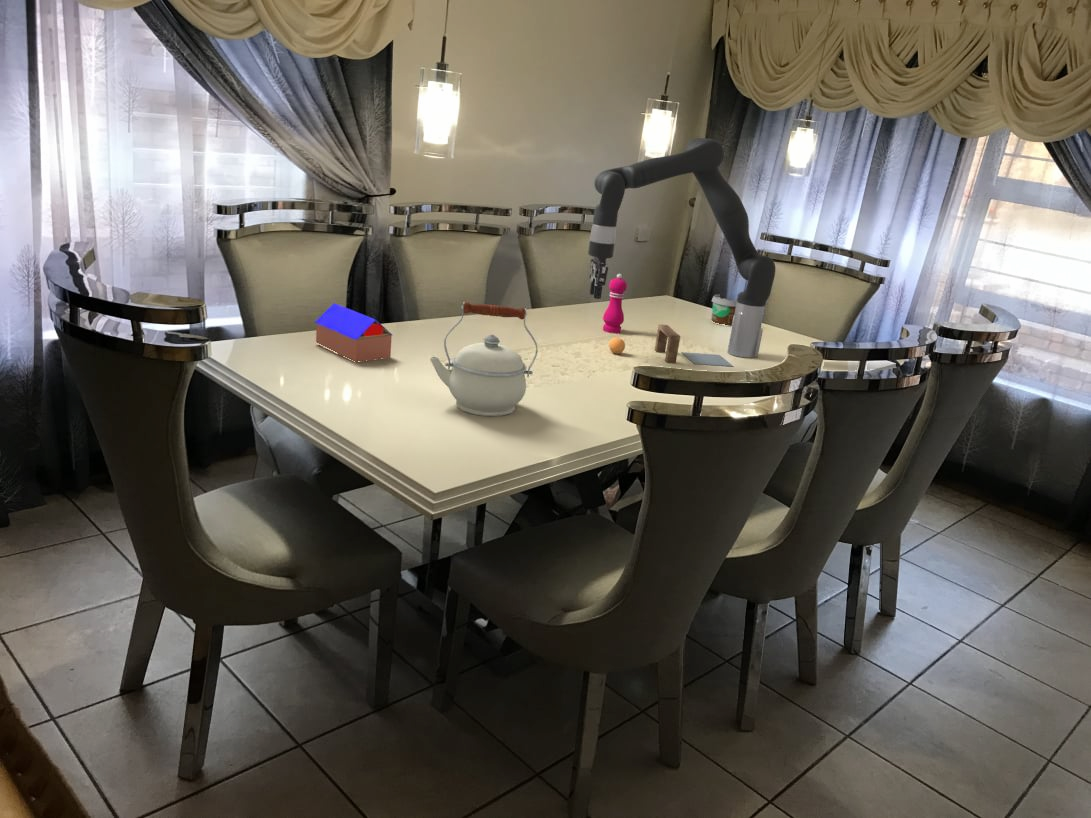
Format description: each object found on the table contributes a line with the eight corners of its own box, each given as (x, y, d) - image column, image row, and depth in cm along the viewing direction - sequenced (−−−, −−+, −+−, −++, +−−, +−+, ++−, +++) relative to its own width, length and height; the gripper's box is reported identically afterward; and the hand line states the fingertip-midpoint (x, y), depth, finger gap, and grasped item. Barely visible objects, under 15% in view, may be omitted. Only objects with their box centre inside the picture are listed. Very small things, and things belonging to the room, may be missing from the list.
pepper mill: (598, 330, 294) (605, 272, 287) (606, 327, 300) (614, 270, 293) (617, 334, 291) (625, 276, 284) (625, 331, 297) (633, 274, 290)
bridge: (663, 351, 276) (667, 325, 273) (675, 363, 263) (680, 336, 260) (654, 350, 275) (658, 324, 273) (666, 362, 262) (671, 335, 260)
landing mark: (719, 355, 279) (719, 354, 279) (733, 366, 267) (733, 366, 267) (681, 352, 277) (681, 352, 276) (693, 364, 264) (694, 363, 264)
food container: (701, 319, 332) (706, 293, 329) (714, 319, 334) (719, 294, 331) (720, 327, 321) (725, 301, 318) (733, 327, 324) (738, 301, 321)
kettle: (530, 399, 213) (540, 301, 205) (531, 424, 196) (543, 318, 188) (430, 389, 212) (437, 291, 204) (422, 413, 194) (429, 307, 187)
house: (355, 364, 226) (356, 321, 222) (314, 345, 239) (315, 304, 235) (392, 359, 234) (394, 317, 231) (350, 341, 247) (352, 301, 243)
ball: (621, 351, 269) (624, 336, 268) (625, 356, 264) (627, 340, 263) (606, 350, 268) (608, 335, 267) (609, 355, 264) (612, 339, 262)
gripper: (620, 245, 248) (612, 302, 253) (609, 238, 261) (602, 292, 267) (595, 243, 246) (587, 300, 252) (585, 235, 260) (578, 290, 265)
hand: (595, 296), depth 259 cm, fingers open, 5 cm apart
